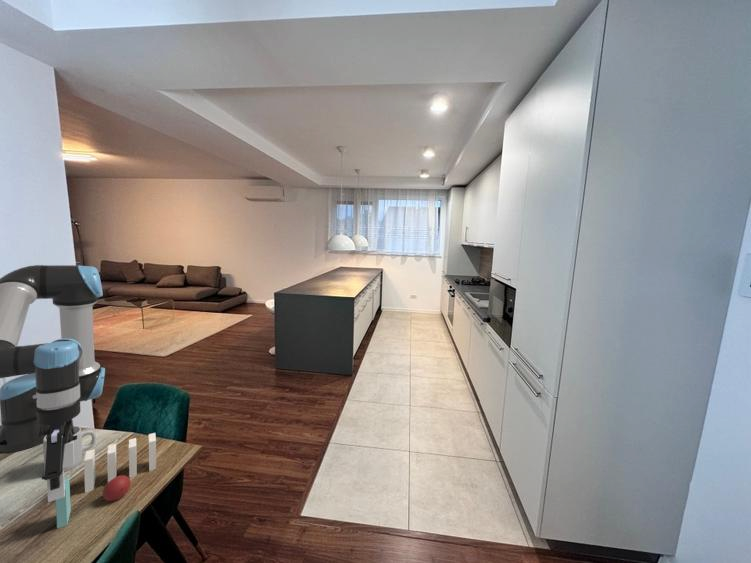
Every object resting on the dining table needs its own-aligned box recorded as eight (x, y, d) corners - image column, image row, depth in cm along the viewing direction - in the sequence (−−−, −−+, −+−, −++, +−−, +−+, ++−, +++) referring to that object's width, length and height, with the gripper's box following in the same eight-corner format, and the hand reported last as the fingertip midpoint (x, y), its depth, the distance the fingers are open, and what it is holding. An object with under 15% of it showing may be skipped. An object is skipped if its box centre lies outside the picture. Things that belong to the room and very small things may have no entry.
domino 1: (57, 528, 75) (55, 492, 74) (61, 514, 79) (59, 480, 78) (67, 524, 76) (65, 489, 75) (70, 510, 80) (69, 477, 79)
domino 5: (149, 471, 95) (149, 442, 94) (149, 462, 99) (148, 434, 98) (156, 468, 96) (155, 440, 95) (155, 459, 100) (155, 432, 99)
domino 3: (108, 484, 89) (107, 454, 88) (109, 474, 93) (108, 445, 92) (115, 482, 90) (115, 452, 89) (116, 472, 94) (116, 443, 93)
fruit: (106, 512, 82) (113, 495, 80) (97, 495, 84) (104, 478, 82) (132, 496, 88) (139, 480, 86) (123, 481, 90) (130, 465, 87)
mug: (45, 479, 90) (44, 445, 89) (43, 465, 95) (41, 434, 94) (98, 459, 99) (97, 428, 98) (93, 447, 104) (92, 418, 103)
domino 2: (85, 492, 86) (84, 460, 85) (87, 481, 90) (86, 451, 89) (93, 489, 87) (92, 458, 86) (95, 479, 91) (94, 449, 90)
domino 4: (129, 477, 92) (128, 448, 91) (129, 468, 96) (129, 439, 95) (136, 475, 93) (136, 446, 92) (136, 465, 97) (136, 437, 96)
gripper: (49, 388, 82) (52, 459, 83) (21, 432, 62) (25, 524, 64) (86, 382, 86) (88, 449, 88) (71, 421, 67) (74, 507, 69)
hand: (62, 481), depth 76 cm, fingers open, 13 cm apart
